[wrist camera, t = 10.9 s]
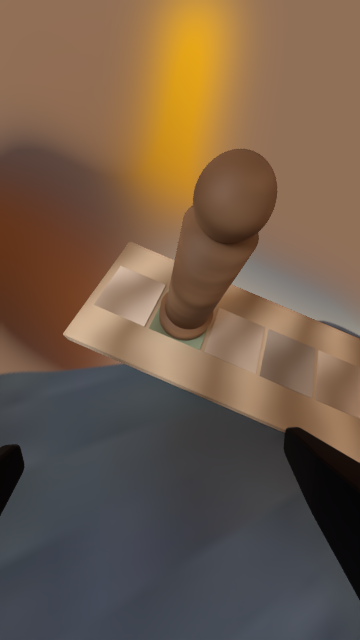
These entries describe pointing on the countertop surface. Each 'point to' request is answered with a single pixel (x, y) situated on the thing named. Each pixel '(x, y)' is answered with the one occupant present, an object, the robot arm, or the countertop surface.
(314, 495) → the robot arm
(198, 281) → the pawn
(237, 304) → the track board
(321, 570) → the countertop surface
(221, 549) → the countertop surface
